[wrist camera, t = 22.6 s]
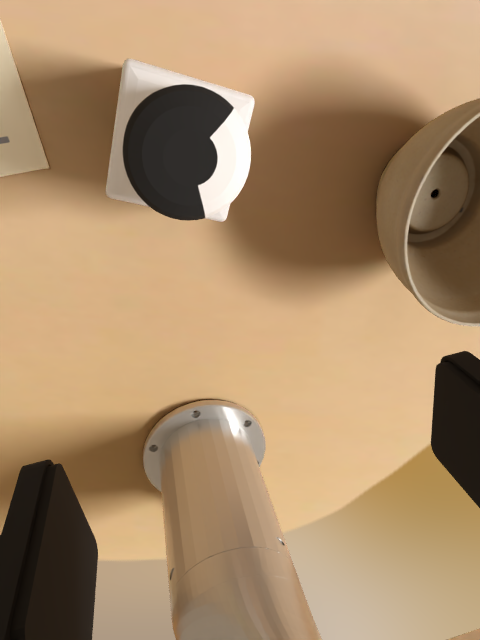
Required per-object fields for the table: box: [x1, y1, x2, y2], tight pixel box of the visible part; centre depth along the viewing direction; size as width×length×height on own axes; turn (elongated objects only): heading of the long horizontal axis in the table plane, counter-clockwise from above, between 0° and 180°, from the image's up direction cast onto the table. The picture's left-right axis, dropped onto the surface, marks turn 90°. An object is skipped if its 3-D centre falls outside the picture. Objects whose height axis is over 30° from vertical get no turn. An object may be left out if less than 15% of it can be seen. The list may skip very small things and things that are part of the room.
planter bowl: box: [376, 98, 480, 326], centre depth 35 cm, size 16×16×11 cm
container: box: [106, 59, 254, 222], centre depth 28 cm, size 8×8×13 cm
